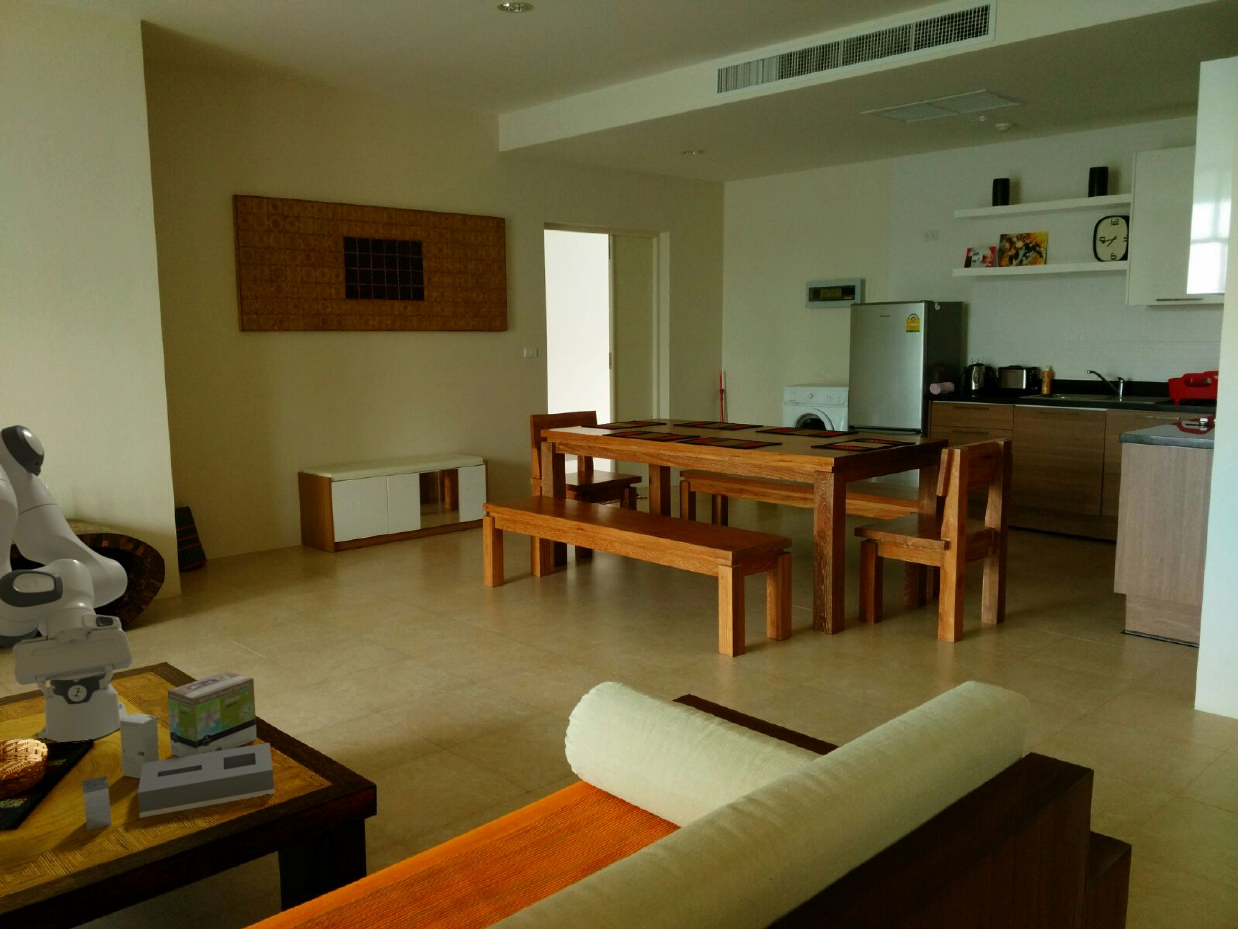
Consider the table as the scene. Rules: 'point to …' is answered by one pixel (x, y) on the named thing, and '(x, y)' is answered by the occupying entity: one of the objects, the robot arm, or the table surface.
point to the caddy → (205, 779)
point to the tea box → (212, 714)
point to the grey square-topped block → (97, 802)
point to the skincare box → (138, 743)
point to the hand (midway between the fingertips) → (77, 694)
